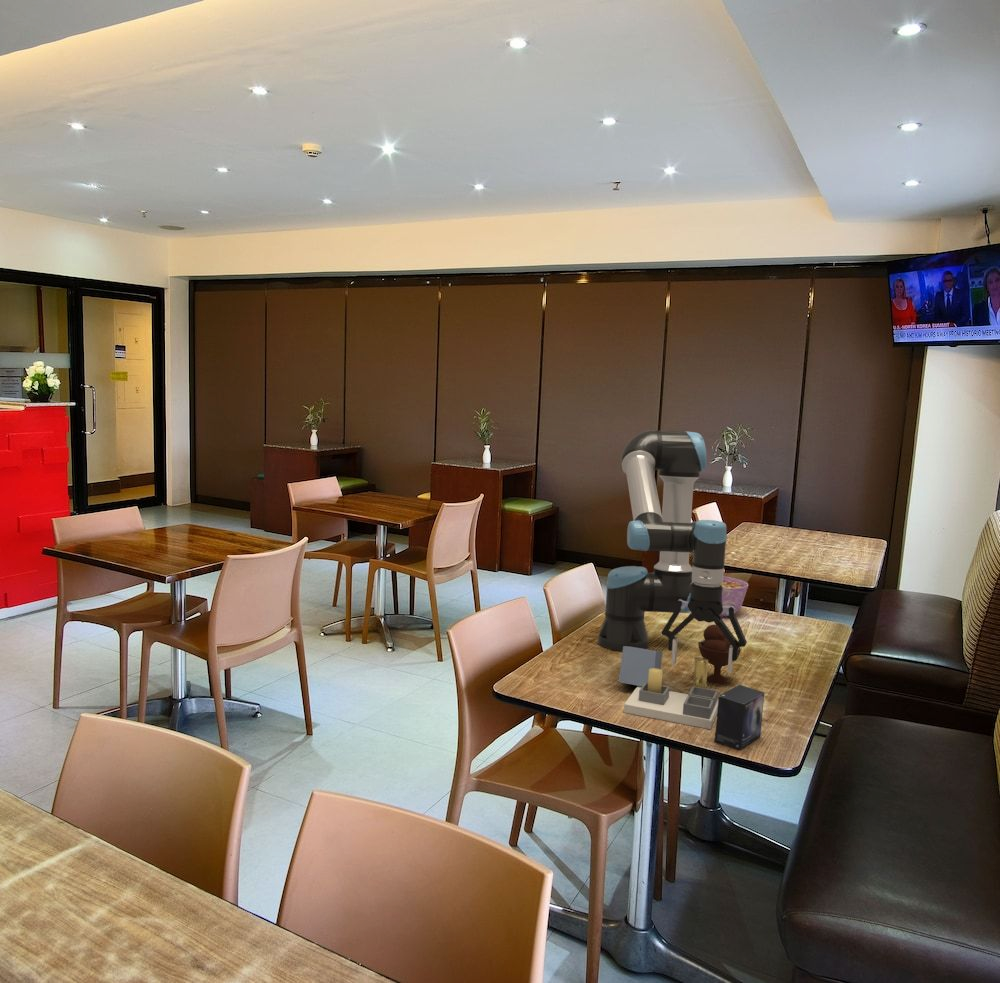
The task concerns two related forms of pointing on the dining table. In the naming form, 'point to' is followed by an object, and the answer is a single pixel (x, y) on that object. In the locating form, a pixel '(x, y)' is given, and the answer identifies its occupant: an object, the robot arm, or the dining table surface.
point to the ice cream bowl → (715, 652)
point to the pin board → (673, 703)
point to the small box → (739, 716)
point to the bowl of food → (733, 593)
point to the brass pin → (700, 672)
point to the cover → (638, 665)
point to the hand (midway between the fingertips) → (701, 668)
